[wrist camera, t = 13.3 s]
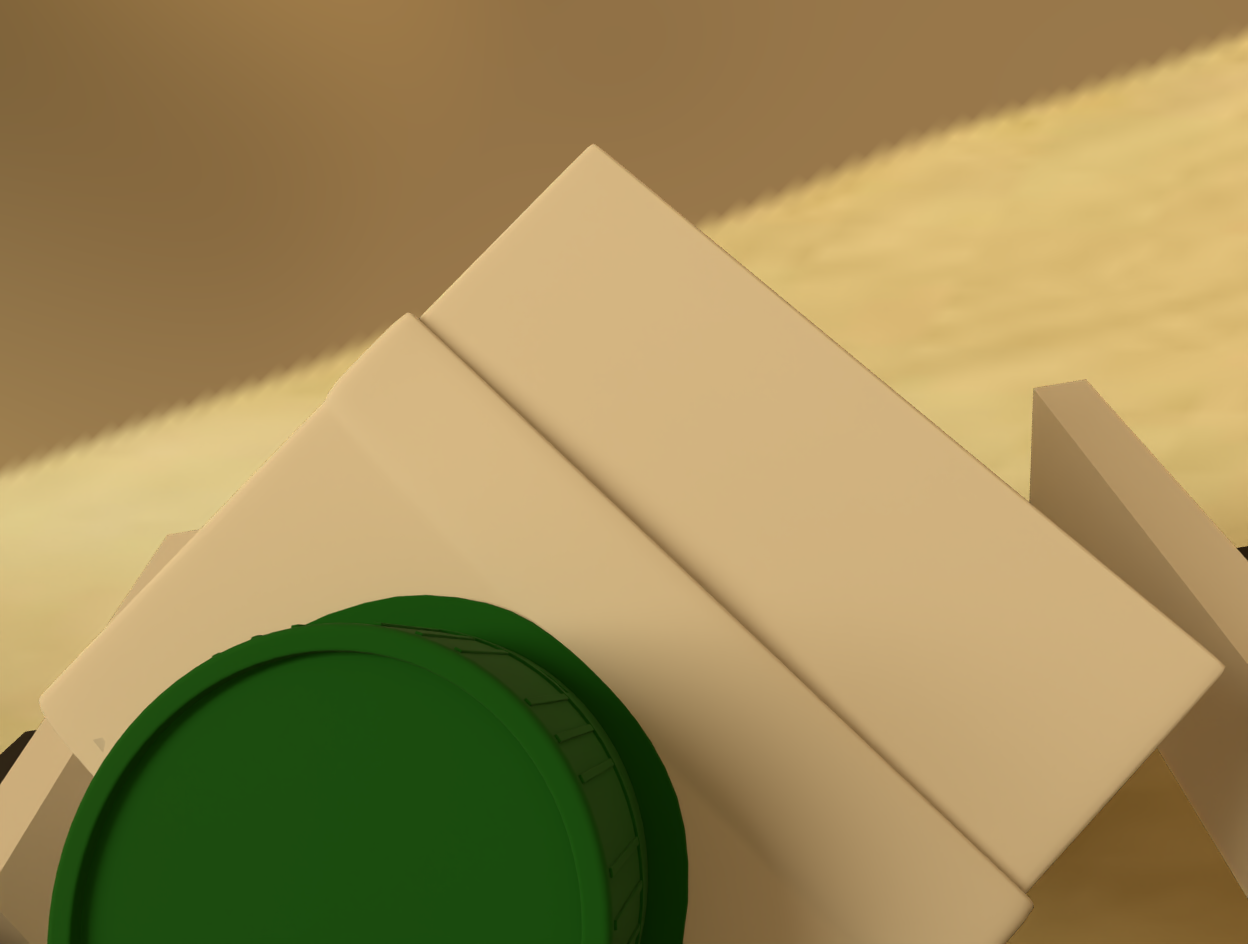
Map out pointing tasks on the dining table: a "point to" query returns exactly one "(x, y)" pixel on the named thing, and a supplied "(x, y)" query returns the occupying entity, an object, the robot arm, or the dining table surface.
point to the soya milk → (607, 641)
